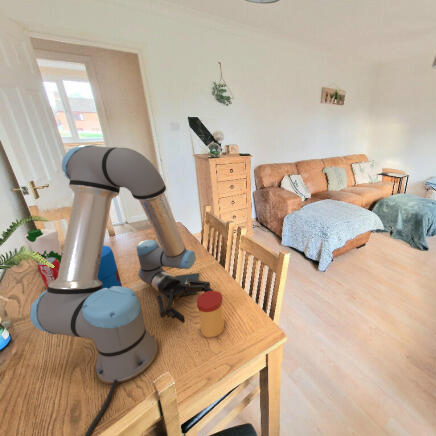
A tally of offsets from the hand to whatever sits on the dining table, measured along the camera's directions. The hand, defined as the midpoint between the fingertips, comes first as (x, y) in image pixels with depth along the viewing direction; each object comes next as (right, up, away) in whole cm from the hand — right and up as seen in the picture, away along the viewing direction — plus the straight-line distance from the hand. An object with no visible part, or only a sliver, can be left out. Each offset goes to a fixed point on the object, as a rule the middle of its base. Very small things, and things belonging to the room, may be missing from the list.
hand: (200, 307), depth 84 cm
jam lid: (+5, +5, -6) cm, 9 cm away
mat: (-14, +3, +20) cm, 25 cm away
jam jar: (+5, -7, -1) cm, 8 cm away
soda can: (-68, +3, +17) cm, 70 cm away
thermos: (-36, -3, +4) cm, 36 cm away
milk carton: (-79, +9, +28) cm, 85 cm away
